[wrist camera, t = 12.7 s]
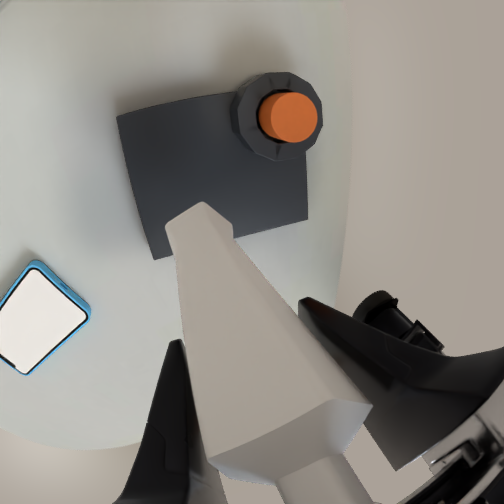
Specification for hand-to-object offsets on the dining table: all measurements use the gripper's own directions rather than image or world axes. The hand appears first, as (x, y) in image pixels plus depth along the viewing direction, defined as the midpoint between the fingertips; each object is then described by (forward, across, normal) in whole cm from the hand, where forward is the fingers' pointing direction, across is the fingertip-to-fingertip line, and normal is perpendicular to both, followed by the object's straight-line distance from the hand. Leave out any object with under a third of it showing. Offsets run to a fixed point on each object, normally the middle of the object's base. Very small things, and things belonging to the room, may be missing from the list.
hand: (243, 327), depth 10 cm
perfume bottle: (+8, 0, 0) cm, 8 cm away
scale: (+13, -3, -2) cm, 14 cm away
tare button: (+11, -7, -6) cm, 14 cm away
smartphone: (+13, +19, +7) cm, 24 cm away
